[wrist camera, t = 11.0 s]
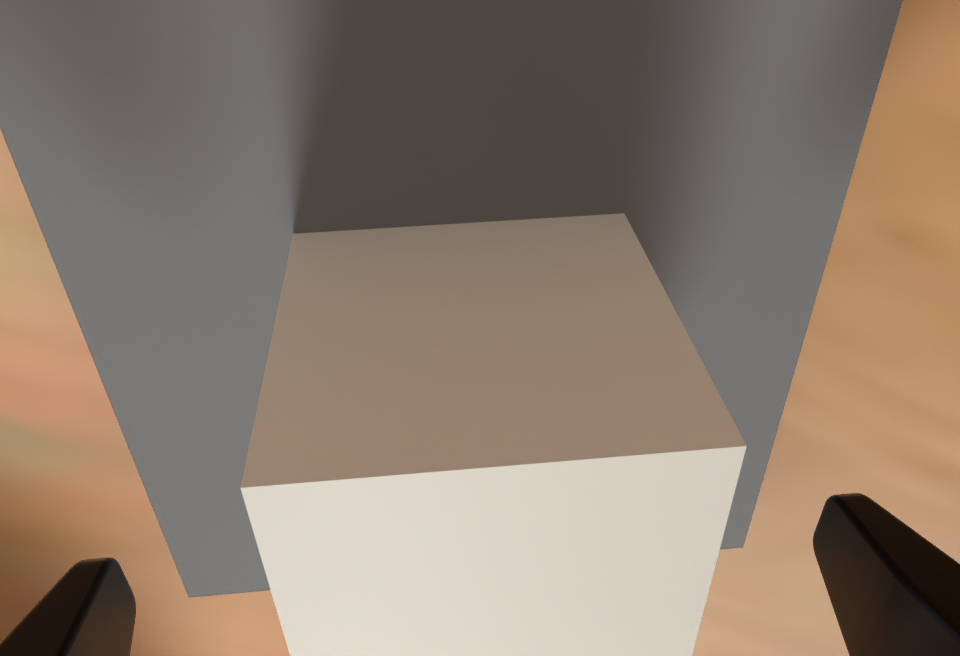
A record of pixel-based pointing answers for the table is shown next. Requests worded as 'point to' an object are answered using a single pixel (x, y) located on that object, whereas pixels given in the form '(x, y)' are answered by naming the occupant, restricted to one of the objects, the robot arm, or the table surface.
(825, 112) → the gray mat
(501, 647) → the off-white cube
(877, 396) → the table surface
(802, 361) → the table surface
